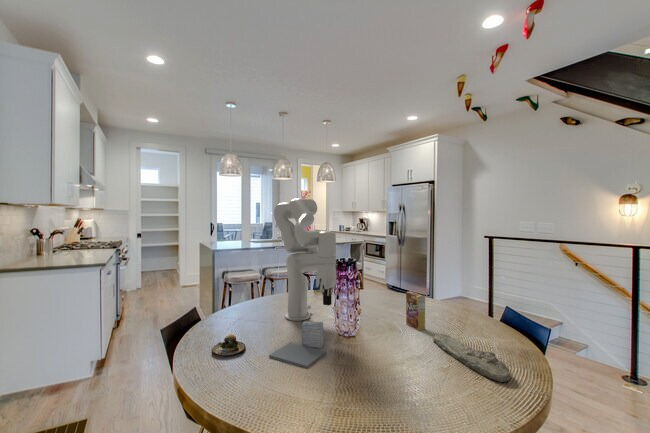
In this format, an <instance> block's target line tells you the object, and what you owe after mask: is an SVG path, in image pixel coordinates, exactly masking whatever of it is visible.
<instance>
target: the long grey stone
mask: <svg viewBox="0 0 650 433" xmlns="http://www.w3.org/2000/svg"><path fill="white" fill-rule="evenodd" d="M432 340H433V343H435V344H436V346H438V347H440V348H441V349H442V350H443V351H444V352H446V353H448V354H449V355H450V356H452V357H453V358H454V359H455V360H458V361H460V362H462V363H463V364H464V365H465V366H466V367H468V368H469V369H472V370H474V371H475V372H477V373H478V374H479V375H481V376H482V377H487V378H489V379H490V380H491V379H492V380H494V381H497V382H499V383H503V382H504V383H505V382H508V381H510V380H511V379H512V377H511V373H510V369H509V368H508V367H507V366H506V364H505V363H504V362H503V361H501V360H500V359H498V358H497V357H496V354H495V353H494V352H493V351H483V350H478V349H477V350H476V349H473V348H472V347H470V346H469V345H466V344H465V343H462V342H461V341H459V340H457V339H456V338H453V337H452V336H450V335H448V334H444V333H440V334H439V333H436V334H435V335H433V338H432Z"/></svg>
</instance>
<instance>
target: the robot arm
mask: <svg viewBox="0 0 650 433" xmlns="http://www.w3.org/2000/svg"><path fill="white" fill-rule="evenodd" d="M317 212H318V204H317V202H316V201H315V200H314V199H311V198H297V197H296V198H293V199H291V200H290V201H289V202H281V203H278V204H276V205H275V206H274V208H273V217H274V221H275V223H276V226H277V228H278V230H279V231H280V234H281V237H282V242H283V245H284V249H285V250H286V252H287V253H289V254H290V255H288V256H287V257H286V269H287V282H288V283H287V312H286V313H285V314H284V319H286V320H289V321H295V322H300V321H301V322H302V321H307V320H308V319H310V318H311V314H310V312H308V311H309V310H311V308H312V306H311V305H310V304H308V280H307V277H306V276H305V274H304V273H307V272H309V273H310V272H316V278H315V288H316V289H319V293H321V295H322V304H323V305H324V306H331V305H332V301H333V300H332V295H333V290H334V289H335V286H336V285H337V236H336V235H337V234H336V232H334V231H329V230H328V231H327V230H323V229H322V230H316V229H315V230H305V229H307V228H308V227H310V226H311V225H312V224H314V222H315V215H316V214H317ZM290 219H292V220H293V219H294V220H295V222H296V223H295V224H294V223H293V222H292V221H291V220H290Z"/></svg>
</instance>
